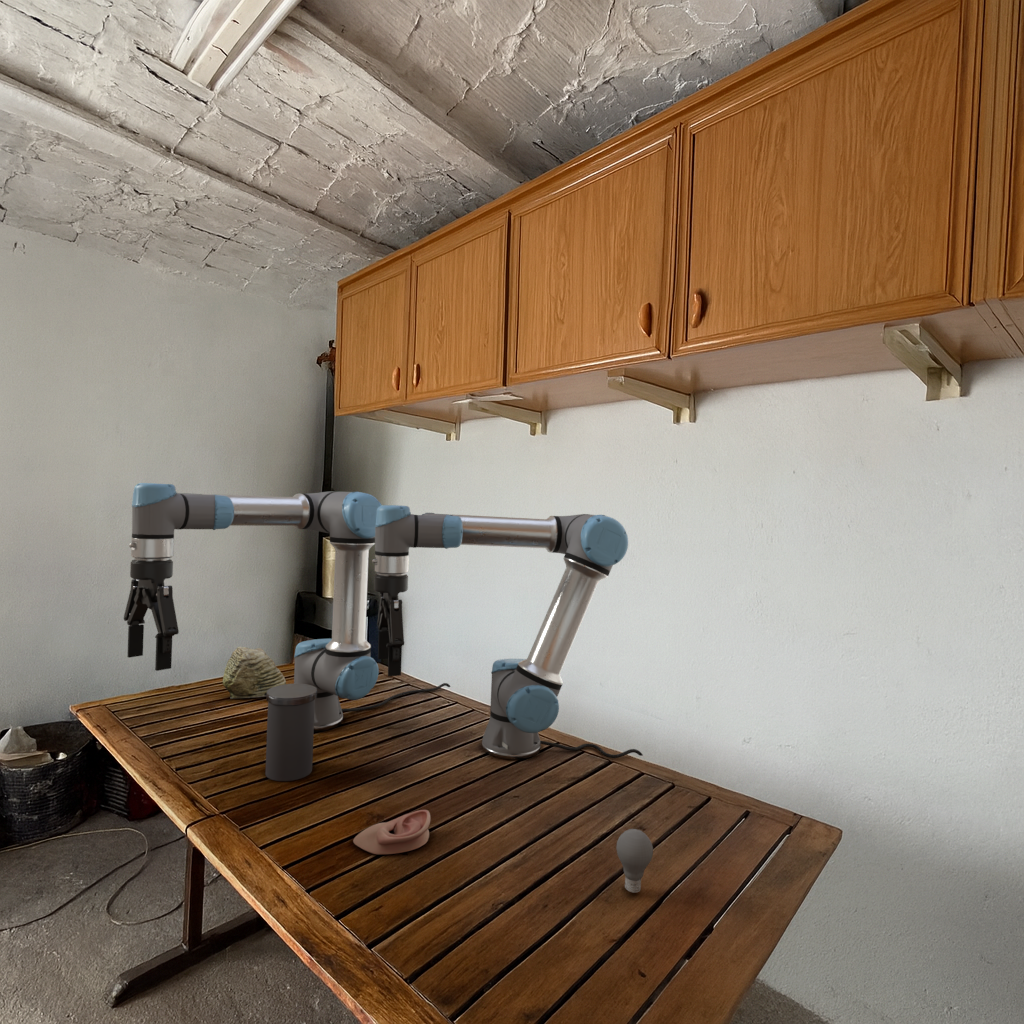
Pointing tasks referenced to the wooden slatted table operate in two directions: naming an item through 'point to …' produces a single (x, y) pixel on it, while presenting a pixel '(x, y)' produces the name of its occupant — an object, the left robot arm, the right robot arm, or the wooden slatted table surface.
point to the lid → (291, 694)
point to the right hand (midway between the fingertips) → (388, 666)
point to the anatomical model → (396, 834)
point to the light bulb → (634, 857)
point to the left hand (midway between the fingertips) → (148, 662)
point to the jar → (289, 741)
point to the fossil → (251, 673)
